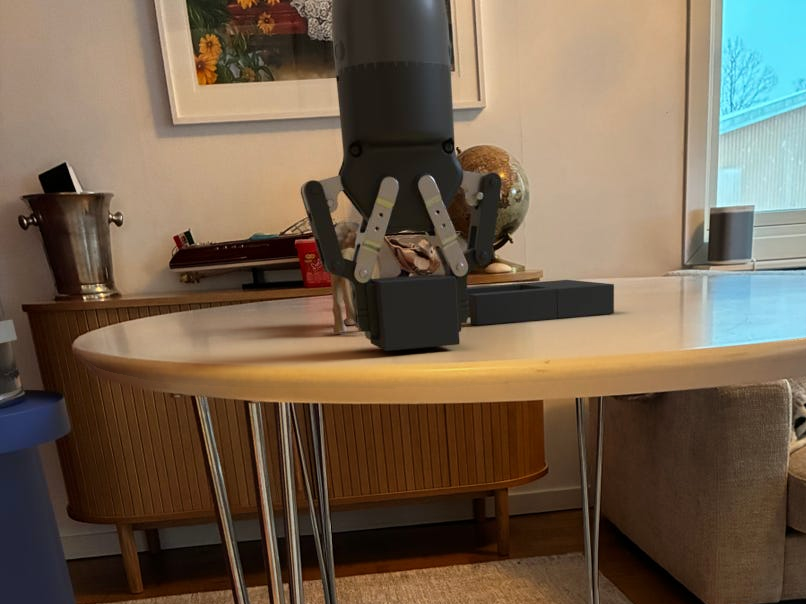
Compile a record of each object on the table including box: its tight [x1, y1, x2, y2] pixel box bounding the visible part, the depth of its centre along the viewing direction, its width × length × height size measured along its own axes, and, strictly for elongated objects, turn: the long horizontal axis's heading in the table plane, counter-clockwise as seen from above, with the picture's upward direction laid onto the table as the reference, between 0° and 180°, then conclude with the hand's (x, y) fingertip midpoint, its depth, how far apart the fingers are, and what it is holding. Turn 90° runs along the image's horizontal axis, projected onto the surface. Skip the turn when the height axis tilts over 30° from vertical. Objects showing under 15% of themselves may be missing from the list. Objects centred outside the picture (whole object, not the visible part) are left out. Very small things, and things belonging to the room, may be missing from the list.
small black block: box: [370, 274, 460, 352], centre depth 69 cm, size 5×5×4 cm
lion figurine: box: [330, 219, 382, 334], centre depth 86 cm, size 15×5×9 cm, turn 10°
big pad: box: [467, 279, 615, 326], centre depth 89 cm, size 13×11×2 cm
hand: (412, 334), depth 69 cm, fingers closed on small black block, 5 cm apart
